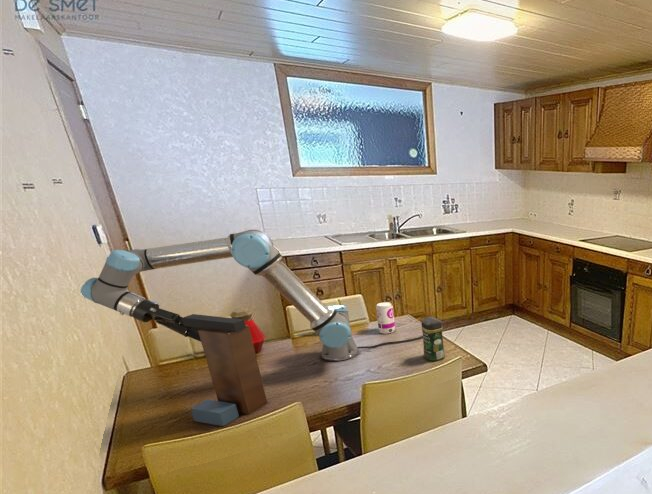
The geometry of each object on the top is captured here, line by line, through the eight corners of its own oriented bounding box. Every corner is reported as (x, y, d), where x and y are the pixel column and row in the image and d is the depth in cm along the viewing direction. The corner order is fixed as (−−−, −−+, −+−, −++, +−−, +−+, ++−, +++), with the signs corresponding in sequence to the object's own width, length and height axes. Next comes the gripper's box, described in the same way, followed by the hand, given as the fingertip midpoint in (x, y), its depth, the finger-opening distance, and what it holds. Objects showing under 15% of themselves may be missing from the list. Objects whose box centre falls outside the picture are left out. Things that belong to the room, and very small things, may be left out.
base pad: (194, 421, 143) (190, 408, 142) (210, 411, 149) (207, 399, 147) (223, 426, 141) (219, 413, 139) (239, 416, 146) (235, 403, 145)
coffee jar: (421, 355, 195) (418, 317, 188) (437, 351, 200) (434, 314, 193) (431, 363, 188) (428, 323, 181) (447, 358, 193) (444, 319, 186)
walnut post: (220, 409, 150) (197, 330, 140) (239, 398, 158) (219, 322, 147) (248, 414, 148) (228, 333, 137) (267, 402, 155) (248, 325, 144)
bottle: (269, 353, 195) (260, 312, 188) (234, 360, 188) (223, 317, 181) (266, 342, 207) (257, 303, 200) (232, 348, 200) (222, 308, 193)
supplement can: (398, 329, 225) (395, 302, 220) (388, 335, 218) (385, 307, 213) (385, 327, 228) (382, 301, 223) (375, 333, 221) (372, 305, 215)
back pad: (184, 326, 143) (181, 317, 142) (195, 322, 147) (193, 313, 146) (235, 331, 139) (233, 323, 138) (246, 327, 142) (244, 319, 141)
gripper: (142, 327, 155) (205, 353, 162) (119, 305, 135) (191, 335, 141) (156, 310, 159) (217, 336, 165) (136, 286, 138) (206, 316, 145)
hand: (205, 335), depth 153 cm, fingers open, 13 cm apart
